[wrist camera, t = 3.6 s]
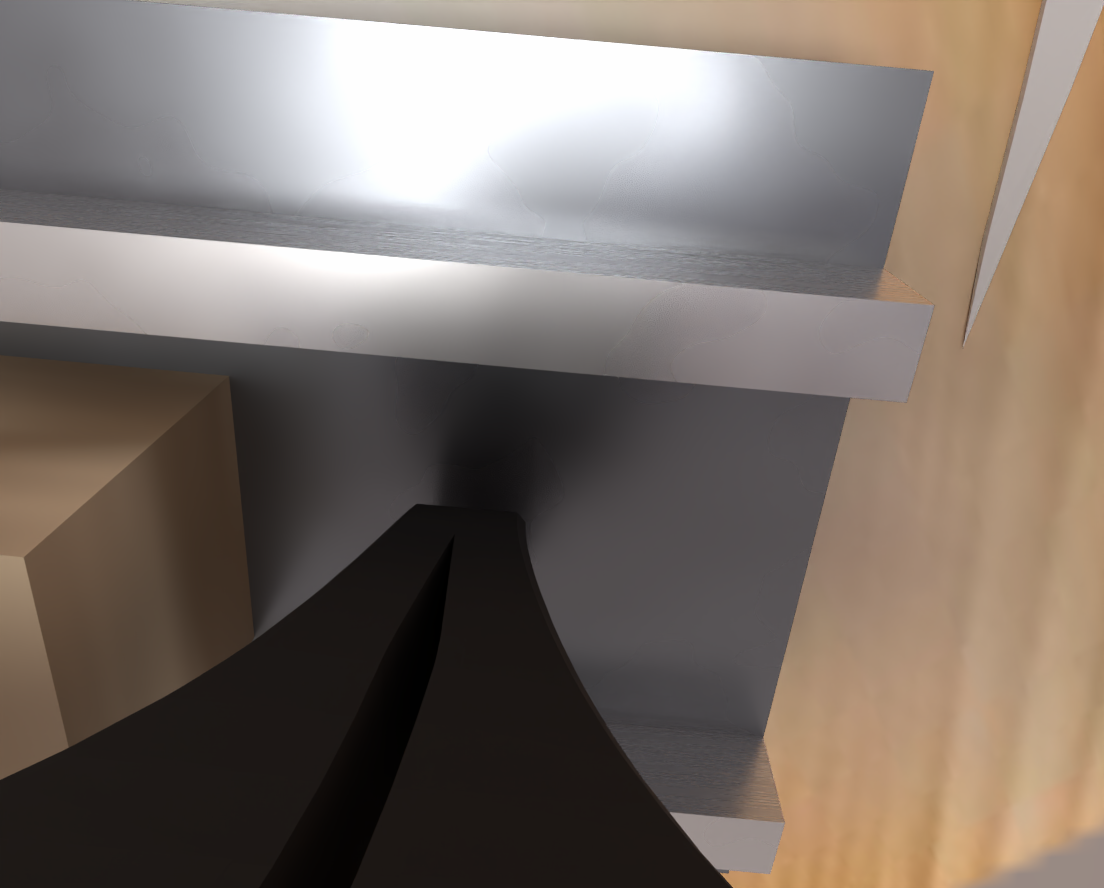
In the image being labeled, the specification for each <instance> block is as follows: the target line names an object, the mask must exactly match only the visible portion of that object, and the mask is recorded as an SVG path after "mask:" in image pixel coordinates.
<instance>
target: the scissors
mask: <svg viewBox="0 0 1104 888" xmlns="http://www.w3.org/2000/svg"><path fill="white" fill-rule="evenodd" d="M1103 5H1104V0H1042V4H1041V8H1040V12H1039V17H1038V21H1037V25H1036V29H1035V34H1034V38H1033V42H1032V46H1031V50H1030V55H1029V59H1028V63H1027V67H1026V71H1025V76H1024V80H1023V84H1022V88H1021V92H1020V97H1019V101H1018V104H1017V108H1016V112H1015V116H1014V120H1013V124H1012V128H1011V131H1010V135H1009V139H1008V143H1007V147H1006V151H1005V155H1004V158H1003V162H1002V166H1001V170H1000V174H999V178H998V182H997V185H996V189H995V193H994V197H993V201H992V205H991V209H990V212H989V216H988V220H987V224H986V228H985V232H984V236H983V240H982V245H981V250H980V256H979V261H978V267H977V272H976V278H975V283H974V288H973V294H972V299H971V305H970V310H969V316H968V321H967V327H966V332H965V338H964V343H963V347H964V344H965V342H966V340H967V337H968V335H969V332H970V330H971V328H972V325H973V323H974V320H975V318H976V316H977V313H978V311H979V308H980V306H981V304H982V301H983V299H984V296H985V294H986V292H987V289H988V287H989V284H990V282H991V280H992V277H993V275H994V272H995V270H996V268H997V265H998V263H999V261H1000V258H1001V256H1002V253H1003V251H1004V249H1005V246H1006V244H1007V241H1008V239H1009V237H1010V234H1011V232H1012V229H1013V227H1014V225H1015V222H1016V220H1017V217H1018V215H1019V213H1020V210H1021V208H1022V205H1023V203H1024V201H1025V198H1026V196H1027V193H1028V191H1029V189H1030V186H1031V184H1032V181H1033V179H1034V177H1035V174H1036V172H1037V170H1038V167H1039V165H1040V162H1041V160H1042V158H1043V155H1044V153H1045V150H1046V148H1047V146H1048V143H1049V141H1050V138H1051V136H1052V134H1053V131H1054V129H1055V126H1056V124H1057V122H1058V119H1059V117H1060V114H1061V112H1062V110H1063V107H1064V105H1065V102H1066V100H1067V98H1068V95H1069V93H1070V90H1071V88H1072V85H1073V83H1074V80H1075V78H1076V75H1077V72H1078V70H1079V67H1080V65H1081V62H1082V60H1083V57H1084V54H1085V52H1086V49H1087V47H1088V44H1089V41H1090V39H1091V36H1092V34H1093V31H1094V29H1095V26H1096V23H1097V21H1098V18H1099V16H1100V13H1101V10H1102V8H1103Z"/></svg>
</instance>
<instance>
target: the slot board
mask: <svg viewBox="0 0 1104 888" xmlns="http://www.w3.org/2000/svg"><path fill="white" fill-rule="evenodd" d="M933 73H934V71H927V70H916V69H905V68H893V67H882V66H871V65H859V64H848V63H837V62H825V61H814V60H803V59H791V58H780V57H769V56H757V55H746V54H735V53H723V52H712V51H701V50H689V49H678V48H667V47H655V46H644V45H633V44H621V43H610V42H599V41H587V40H576V39H564V38H553V37H542V36H530V35H519V34H508V33H496V32H485V31H474V30H462V29H451V28H440V27H428V26H417V25H406V24H394V23H383V22H372V21H360V20H349V19H338V18H326V17H315V16H304V15H292V14H281V13H270V12H258V11H247V10H236V9H224V8H213V7H202V6H190V5H179V4H168V3H156V2H145V1H134V0H0V355H4V356H15V357H26V358H37V359H48V360H59V361H70V362H81V363H92V364H103V365H114V366H125V367H136V368H147V369H158V370H170V371H181V372H192V373H203V374H214V375H225V376H229V381H230V392H231V402H232V412H233V422H234V433H235V443H236V453H237V464H238V474H239V484H240V494H241V505H242V515H243V525H244V535H245V546H246V556H247V566H248V577H249V587H250V597H251V607H252V618H253V628H254V638H253V640H252V641H254V640H255V639H256V638H258V637H259V636H261V635H262V634H263V633H264V632H266V631H267V630H268V629H270V628H271V627H272V626H274V625H275V624H276V623H278V622H279V621H280V620H282V619H283V618H284V617H285V616H287V615H288V614H289V613H291V612H292V611H293V610H295V609H296V608H297V607H299V606H300V605H301V604H302V603H304V602H305V601H306V600H308V599H309V598H310V597H311V596H313V595H314V594H315V593H316V592H317V591H319V590H320V589H321V588H322V587H323V586H325V585H326V584H327V583H328V582H329V581H330V580H332V579H333V578H334V577H335V576H336V575H337V574H339V573H340V572H341V571H342V570H343V569H344V568H346V567H347V566H348V565H349V564H350V563H351V562H353V561H354V560H355V559H356V558H357V557H358V556H359V555H360V554H361V553H363V552H364V551H365V550H366V549H367V548H368V547H369V546H370V545H371V544H372V543H374V542H375V541H376V540H377V539H378V538H379V537H380V536H381V535H382V534H383V533H384V532H385V531H386V530H387V529H388V528H390V527H391V526H392V525H393V524H394V523H395V522H396V521H397V520H398V519H399V518H400V517H401V516H402V515H403V514H405V513H406V512H407V511H408V510H409V509H410V508H412V507H413V506H414V505H416V504H427V505H438V506H449V507H460V508H471V509H482V510H493V511H504V512H515V513H518V514H519V515H520V516H521V517H522V518H523V519H524V521H525V522H526V528H525V531H526V541H527V547H528V551H529V556H530V559H531V563H532V567H533V570H534V574H535V577H536V580H537V583H538V586H539V589H540V592H541V594H542V597H543V599H544V602H545V604H546V607H547V609H548V612H549V615H550V617H551V620H552V622H553V625H554V627H555V629H556V631H557V634H558V636H559V638H560V640H561V643H562V645H563V647H564V649H565V651H566V653H567V655H568V657H569V659H570V661H571V663H572V665H573V667H574V669H575V671H576V673H577V675H578V677H579V678H580V680H581V682H582V684H583V686H584V688H585V690H586V691H587V693H588V695H589V697H590V698H591V700H592V702H593V704H594V705H595V707H596V709H597V710H598V712H599V713H600V715H601V717H602V718H603V720H604V721H605V723H606V725H607V726H608V728H609V729H610V731H611V733H612V734H613V736H614V737H615V739H616V740H617V742H618V743H619V745H620V746H621V748H622V749H623V751H624V752H625V754H626V755H627V756H628V758H629V759H630V761H631V762H632V764H633V765H634V767H635V768H636V770H637V771H638V773H639V774H640V775H641V777H642V778H643V780H644V781H645V782H646V783H647V785H648V786H649V787H650V788H651V790H652V791H653V792H654V793H655V795H656V796H657V797H658V798H659V800H660V801H661V802H662V804H663V805H664V806H665V807H666V809H667V810H668V811H669V812H670V814H671V815H672V816H673V817H674V819H675V820H676V821H677V822H678V824H679V825H680V826H681V828H682V829H683V830H684V831H685V833H686V834H687V835H688V836H689V838H690V839H691V840H692V841H693V843H694V844H695V845H696V846H697V848H698V849H699V850H700V852H701V853H702V854H703V855H704V856H705V857H706V858H707V860H708V861H709V862H710V863H711V864H712V865H713V866H714V867H715V868H716V870H717V871H718V872H719V873H729V870H732V871H743V872H753V873H764V874H770V873H771V869H772V866H773V862H774V859H775V856H776V852H777V849H778V845H779V842H780V838H781V835H782V831H783V828H784V824H785V821H784V817H783V813H782V809H781V805H780V801H779V798H778V794H777V790H776V786H775V782H774V778H773V774H772V770H771V766H770V762H769V758H768V754H767V750H766V746H765V742H764V738H763V736H764V732H765V728H766V724H767V720H768V717H769V713H770V709H771V705H772V701H773V697H774V693H775V689H776V685H777V681H778V678H779V674H780V670H781V666H782V662H783V658H784V654H785V650H786V646H787V642H788V638H789V635H790V631H791V627H792V623H793V619H794V615H795V611H796V607H797V603H798V599H799V596H800V592H801V588H802V584H803V580H804V576H805V572H806V568H807V564H808V560H809V557H810V553H811V549H812V545H813V541H814V537H815V533H816V529H817V525H818V521H819V518H820V514H821V510H822V506H823V502H824V498H825V494H826V490H827V486H828V482H829V479H830V475H831V471H832V467H833V463H834V459H835V455H836V451H837V447H838V443H839V440H840V436H841V432H842V428H843V424H844V420H845V416H846V412H847V408H848V404H849V401H850V398H859V399H870V400H881V401H892V402H903V403H907V399H908V396H909V392H910V389H911V385H912V382H913V378H914V375H915V372H916V368H917V365H918V361H919V358H920V354H921V351H922V347H923V344H924V340H925V337H926V334H927V330H928V327H929V323H930V320H931V316H932V313H933V309H934V306H935V305H933V304H932V303H931V302H929V301H928V300H926V299H925V298H924V297H922V296H921V295H920V294H918V293H917V292H915V291H914V290H913V289H911V288H910V287H909V286H907V285H906V284H904V283H903V282H902V281H900V280H899V279H897V278H896V277H895V276H893V275H892V274H891V273H889V272H888V271H886V270H885V269H884V264H885V260H886V256H887V252H888V248H889V244H890V241H891V237H892V233H893V229H894V225H895V221H896V217H897V213H898V209H899V205H900V202H901V198H902V194H903V190H904V186H905V182H906V178H907V174H908V170H909V166H910V163H911V159H912V155H913V151H914V147H915V143H916V139H917V135H918V131H919V127H920V124H921V120H922V116H923V112H924V108H925V104H926V100H927V96H928V92H929V88H930V85H931V81H932V77H933Z"/></svg>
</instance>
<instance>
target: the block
mask: <svg viewBox="0 0 1104 888" xmlns="http://www.w3.org/2000/svg"><path fill="white" fill-rule="evenodd" d="M253 638H254V628H253V618H252V607H251V597H250V587H249V577H248V566H247V556H246V546H245V535H244V525H243V515H242V505H241V494H240V484H239V474H238V464H237V453H236V443H235V433H234V422H233V412H232V402H231V392H230V381H229V376H225V375H214V374H203V373H192V372H181V371H170V370H158V369H147V368H136V367H125V366H114V365H103V364H92V363H81V362H70V361H59V360H48V359H37V358H26V357H15V356H4V355H0V780H1V779H3V778H5V777H7V776H9V775H12V774H14V773H16V772H18V771H20V770H22V769H25V768H27V767H29V766H31V765H33V764H35V763H37V762H40V761H42V760H44V759H46V758H48V757H50V756H52V755H55V754H57V753H59V752H61V751H63V750H65V749H67V748H69V747H71V746H73V745H75V744H77V743H78V742H80V741H82V740H84V739H86V738H88V737H90V736H92V735H94V734H95V733H97V732H99V731H101V730H103V729H105V728H107V727H109V726H110V725H112V724H114V723H116V722H118V721H120V720H122V719H124V718H126V717H127V716H129V715H131V714H133V713H135V712H137V711H139V710H141V709H142V708H144V707H146V706H148V705H150V704H152V703H154V702H156V701H158V700H159V699H161V698H163V697H165V696H167V695H168V694H170V693H172V692H173V691H175V690H177V689H179V688H180V687H182V686H184V685H185V684H187V683H189V682H190V681H192V680H193V679H195V678H197V677H198V676H200V675H201V674H203V673H205V672H206V671H208V670H209V669H211V668H213V667H214V666H216V665H218V664H219V663H221V662H222V661H224V660H226V659H227V658H229V657H230V656H232V655H233V654H235V653H236V652H238V651H239V650H241V649H242V648H244V647H245V646H246V645H248V644H249V643H251V642H252V640H253Z"/></svg>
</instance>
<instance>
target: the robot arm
mask: <svg viewBox="0 0 1104 888" xmlns="http://www.w3.org/2000/svg"><path fill="white" fill-rule="evenodd" d="M525 528H526V522H525V521H524V519H523V518H522V517H521V516H520V515H519V514H518V513H515V512H504V511H493V510H482V509H471V508H460V507H449V506H438V505H427V504H416V505H414V506H413V507H412V508H410V509H409V510H408V511H407V512H406V513H405V514H403V515H402V516H401V517H400V518H399V519H398V520H397V521H396V522H395V523H394V524H393V525H392V526H391V527H390V528H388V529H387V530H386V531H385V532H384V533H383V534H382V535H381V536H380V537H379V538H378V539H377V540H376V541H375V542H374V543H372V544H371V545H370V546H369V547H368V548H367V549H366V550H365V551H364V552H363V553H361V554H360V555H359V556H358V557H357V558H356V559H355V560H354V561H353V562H351V563H350V564H349V565H348V566H347V567H346V568H344V569H343V570H342V571H341V572H340V573H339V574H337V575H336V576H335V577H334V578H333V579H332V580H330V581H329V582H328V583H327V584H326V585H325V586H323V587H322V588H321V589H320V590H319V591H317V592H316V593H315V594H314V595H313V596H311V597H310V598H309V599H308V600H306V601H305V602H304V603H302V604H301V605H300V606H299V607H297V608H296V609H295V610H293V611H292V612H291V613H289V614H288V615H287V616H285V617H284V618H283V619H282V620H280V621H279V622H278V623H276V624H275V625H274V626H272V627H271V628H270V629H268V630H267V631H266V632H264V633H263V634H262V635H261V636H259V637H258V638H256V639H255V640H254V641H252V642H251V643H249V644H248V645H246V646H245V647H244V648H242V649H241V650H239V651H238V652H236V653H235V654H233V655H232V656H230V657H229V658H227V659H226V660H224V661H222V662H221V663H219V664H218V665H216V666H214V667H213V668H211V669H209V670H208V671H206V672H205V673H203V674H201V675H200V676H198V677H197V678H195V679H193V680H192V681H190V682H189V683H187V684H185V685H184V686H182V687H180V688H179V689H177V690H175V691H173V692H172V693H170V694H168V695H167V696H165V697H163V698H161V699H159V700H158V701H156V702H154V703H152V704H150V705H148V706H146V707H144V708H142V709H141V710H139V711H137V712H135V713H133V714H131V715H129V716H127V717H126V718H124V719H122V720H120V721H118V722H116V723H114V724H112V725H110V726H109V727H107V728H105V729H103V730H101V731H99V732H97V733H95V734H94V735H92V736H90V737H88V738H86V739H84V740H82V741H80V742H78V743H77V744H75V745H73V746H71V747H69V748H67V749H65V750H63V751H61V752H59V753H57V754H55V755H52V756H50V757H48V758H46V759H44V760H42V761H40V762H37V763H35V764H33V765H31V766H29V767H27V768H25V769H22V770H20V771H18V772H16V773H14V774H12V775H9V776H7V777H5V778H3V779H1V780H0V888H733V887H732V886H731V885H730V884H729V883H728V882H727V881H726V880H725V878H724V877H723V876H722V875H721V874H720V873H719V872H718V871H717V870H716V868H715V867H714V866H713V865H712V864H711V863H710V862H709V861H708V860H707V858H706V857H705V856H704V855H703V854H702V853H701V852H700V850H699V849H698V848H697V846H696V845H695V844H694V843H693V841H692V840H691V839H690V838H689V836H688V835H687V834H686V833H685V831H684V830H683V829H682V828H681V826H680V825H679V824H678V822H677V821H676V820H675V819H674V817H673V816H672V815H671V814H670V812H669V811H668V810H667V809H666V807H665V806H664V805H663V804H662V802H661V801H660V800H659V798H658V797H657V796H656V795H655V793H654V792H653V791H652V790H651V788H650V787H649V786H648V785H647V783H646V782H645V781H644V780H643V778H642V777H641V775H640V774H639V773H638V771H637V770H636V768H635V767H634V765H633V764H632V762H631V761H630V759H629V758H628V756H627V755H626V754H625V752H624V751H623V749H622V748H621V746H620V745H619V743H618V742H617V740H616V739H615V737H614V736H613V734H612V733H611V731H610V729H609V728H608V726H607V725H606V723H605V721H604V720H603V718H602V717H601V715H600V713H599V712H598V710H597V709H596V707H595V705H594V704H593V702H592V700H591V698H590V697H589V695H588V693H587V691H586V690H585V688H584V686H583V684H582V682H581V680H580V678H579V677H578V675H577V673H576V671H575V669H574V667H573V665H572V663H571V661H570V659H569V657H568V655H567V653H566V651H565V649H564V647H563V645H562V643H561V640H560V638H559V636H558V634H557V631H556V629H555V627H554V625H553V622H552V620H551V617H550V615H549V612H548V609H547V607H546V604H545V602H544V599H543V597H542V594H541V592H540V589H539V586H538V583H537V580H536V577H535V574H534V570H533V567H532V563H531V559H530V556H529V551H528V547H527V541H526V531H525Z"/></svg>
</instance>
